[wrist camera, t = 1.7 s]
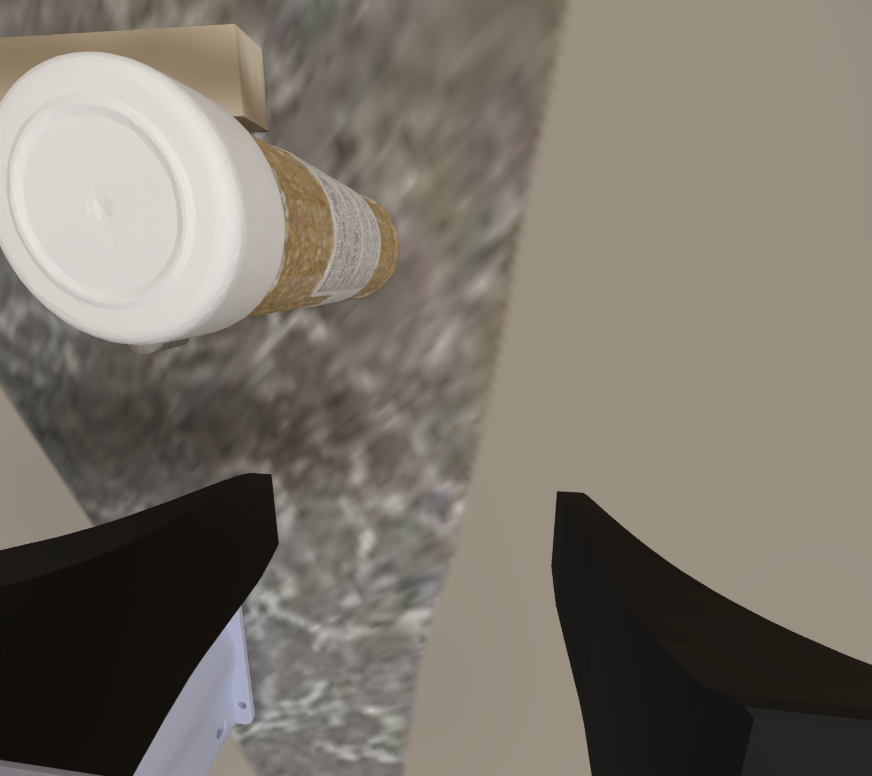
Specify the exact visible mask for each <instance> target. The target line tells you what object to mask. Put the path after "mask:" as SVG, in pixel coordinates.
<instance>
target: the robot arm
mask: <svg viewBox="0 0 872 776" xmlns="http://www.w3.org/2000/svg"><path fill="white" fill-rule="evenodd" d="M278 544H279V543H278V533H277V523H276V514H275V504H274V494H273V485H272V475H271V474H257V473H247V474H243V475H239V476H236V477H233V478H230V479H227V480H224V481H221V482H218V483H216V484H213V485H210V486H208V487H205V488H203V489H200V490H197V491H195V492H192V493H190V494H187V495H184V496H182V497H179V498H177V499H174V500H171V501H169V502H166V503H163V504H160V505H158V506H155V507H152V508H149V509H146V510H144V511H141V512H138V513H135V514H132V515H130V516H127V517H124V518H121V519H118V520H115V521H112V522H109V523H105V524H102V525H99V526H96V527H92V528H89V529H85V530H82V531H78V532H74V533H71V534H68V535H64V536H60V537H56V538H52V539H47V540H43V541H39V542H34V543H30V544H25V545H21V546H17V547H13V548H8V549H4V550H0V776H206V774H207V772H208V771H209V769H210V767H211V765H212V764H213V762H214V760H215V758H216V756H217V755H218V753H219V751H220V750H221V748H222V746H223V744H224V742H225V741H226V739H227V737H228V735H229V734H230V732H231V730H232V728H233V727H234V725H235V723H238V724H249V723H251V722H252V720H253V718H254V716H255V712H254V704H253V696H252V687H251V679H250V671H249V663H248V654H247V646H246V638H245V630H244V622H243V613H242V604H243V602H244V601H245V600H246V598H247V597H248V595H249V594H250V593H251V591H252V590H253V588H254V587H255V586H256V584H257V583H258V581H259V580H260V578H261V577H262V575H263V573H264V571H265V569H266V568H267V566H268V564H269V562H270V560H271V558H272V556H273V554H274V552H275V550H276V548H277V546H278ZM551 567H552V575H553V585H554V593H555V601H556V607H557V611H558V616H559V620H560V624H561V628H562V632H563V637H564V640H565V645H566V649H567V653H568V657H569V661H570V665H571V669H572V673H573V677H574V681H575V685H576V689H577V693H578V697H579V701H580V707H581V711H582V716H583V721H584V727H585V733H586V740H587V746H588V753H589V760H590V767H591V773H592V776H872V665H871V664H868V663H865V662H863V661H860V660H857V659H855V658H852V657H850V656H847V655H845V654H842V653H840V652H838V651H836V650H833V649H831V648H829V647H826V646H824V645H822V644H820V643H817V642H815V641H813V640H810V639H808V638H806V637H803V636H801V635H799V634H797V633H795V632H792V631H790V630H788V629H786V628H784V627H782V626H780V625H778V624H775V623H773V622H771V621H769V620H767V619H765V618H763V617H761V616H760V615H758V614H756V613H754V612H752V611H750V610H748V609H746V608H744V607H742V606H740V605H739V604H737V603H735V602H733V601H731V600H729V599H727V598H726V597H724V596H722V595H720V594H718V593H717V592H715V591H713V590H712V589H710V588H708V587H707V586H705V585H703V584H702V583H700V582H699V581H697V580H695V579H693V578H692V577H691V576H689V575H687V574H686V573H684V572H683V571H681V570H680V569H678V568H677V567H675V566H674V565H672V564H671V563H669V562H668V561H666V560H665V559H664V558H662V557H661V556H660V555H658V554H657V553H655V552H654V551H653V550H651V549H650V548H649V547H648V546H646V545H645V544H644V543H642V542H641V541H640V540H639V539H637V538H636V537H635V536H634V535H632V534H631V533H630V532H629V531H627V530H626V529H625V528H624V527H623V526H622V525H620V524H619V523H618V522H617V521H616V520H615V519H613V518H612V517H611V516H610V515H608V513H606V512H605V511H604V510H603V509H602V508H601V507H600V506H599V505H597V504H596V503H595V502H594V501H593V500H592V499H591V498H589V497H588V496H587V495H586V494H584V493H577V492H560V491H557V500H556V513H555V525H554V539H553V552H552V565H551Z"/></svg>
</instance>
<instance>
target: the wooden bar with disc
mask: <svg viewBox="0 0 872 776" xmlns="http://www.w3.org/2000/svg"><path fill="white" fill-rule="evenodd" d="M87 51H89V52H105V53H111V54H116V55H120V56H124V57H128V58H131V59H134V60H136V61H139V62H141V63H144V64H146V65H148V66H150V67H152V68H154V69H156V70H158V71H160V72H162V73H163V74H165V75H167V76H169V77H171V78H173V79H175V80H177V81H178V82H180V83H182V84H184V85H186V86H188V87H189V88H191V89H193V90H195V91H197V92H198V93H200V94H202V95H203V96H205V97H207V98H208V99H210V100H212V101H213V102H215V103H216V104H218V105H219V106H221V107H222V108H224V109H225V110H226V111H227V112H228V113H230V114H231V115H232V116H233V117H234V118H235V119H236V120H238V122H239V123H240V124H241V125H242V126H243V127H244V128H245V129H246V130H247V131H248V132H259V131H268V120H267V108H266V95H265V82H264V69H263V57H262V49H261V48H260V47H259V46H258V45H257V44H255V43H254V42H253V41H252V40H251V39H250V38H249V37H248V36H247V35H246V34H245V33H244V32H243V31H242V30H241V29H240V28H239V27H237V26H236V25H235V24H229V25H212V26H195V27H178V28H160V29H143V30H126V31H109V32H92V33H75V34H58V35H41V36H24V37H7V38H0V102H1V100H2V99H3V98H4V96H5V95H6V93H7V92H8V90H9V89H10V88H11V87H12V86H13V84H14V83H15V82H16V81H17V80H18V79H19V78H20V77H21V76H23V75H24V74H25V73H26V72H28V71H29V70H30V69H32V68H33V67H35V66H37V65H38V64H40V63H42V62H44V61H46V60H49V59H51V58H53V57H56V56H60V55H65V54H69V53H74V52H87Z"/></svg>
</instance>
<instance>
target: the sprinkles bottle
mask: <svg viewBox="0 0 872 776" xmlns="http://www.w3.org/2000/svg"><path fill="white" fill-rule="evenodd" d="M0 246H1V249H2V251H3V253H4V255H5V257H6V258H7V260H8V262H9V263H10V265H11V267H12V268H13V270H14V271H15V273H16V274H17V275H18V277H19V278H20V280H21V281H22V282H23V283H24V285H25V286H26V287H27V288H28V289H29V291H30V292H31V293H32V294H33V295H34V296H35V297H36V298H37V299H38V300H39V301H40V302H41V303H42V304H43V305H44V306H45V307H46V308H48V309H49V310H50V311H51V312H53V313H54V314H55V315H57V316H58V317H59V318H60V319H62V320H63V321H65V322H66V323H68V324H70V325H71V326H73V327H75V328H77V329H79V330H81V331H83V332H85V333H88V334H90V335H92V336H95V337H98V338H101V339H104V340H107V341H111V342H115V343H122V344H132V345H149V344H159V343H165V342H171V341H176V340H181V339H187V338H191V337H196V336H200V335H204V334H208V333H213V332H217V331H219V330H222V329H225V328H227V327H229V326H231V325H233V324H234V323H236V322H238V321H239V320H241V319H243V318H245V317H249V316H257V315H262V314H266V313H274V312H277V311H287V310H291V309H295V308H309V307H315V306H320V305H325V304H329V303H334V302H339V301H342V300H345V299H357V298H363V297H366V296H368V295H370V294H372V293H374V292H376V291H377V290H378V289H380V288H381V287H382V286H383V285H384V284H385V283H386V282H387V281H388V280H389V278H390V276H391V275H392V274H393V272H394V271H395V267H396V263H397V260H398V255H399V240H398V234H397V230H396V228H395V226H394V224H393V221H392V219H391V218H390V216H389V215H388V213H387V212H386V211H385V209H384V208H383V207H382V206H381V205H379V204H378V203H377V202H376V201H374V200H373V199H371V198H370V197H367V196H365V195H362V194H360V193H356V192H355V191H354V190H352V189H351V188H349V187H347V186H346V185H344V184H342V183H340V182H339V181H337V180H335V179H334V178H332V177H330V176H329V175H327V174H325V173H324V172H322V171H320V170H319V169H317V168H315V167H314V166H312V165H310V164H308V163H306V162H305V161H303V160H301V159H300V158H298V157H297V156H295V155H293V154H291V153H290V152H288V151H285V150H283V149H280V148H278V147H275V146H272V145H269V144H267V143H265V142H263V141H262V140H260V139H258V138H256V137H254V136H253V135H251V134H250V133H249V132H248V131H247V130H246V129H245V128H244V127H243V126H242V125H241V124H240V123H239V122H238V120H236V119H235V118H234V117H233V116H232V115H231V114H230V113H228V112H227V111H226V110H225V109H224V108H222V107H221V106H219V105H218V104H216V103H215V102H213V101H212V100H210V99H208V98H207V97H205V96H203V95H202V94H200V93H198V92H197V91H195V90H193V89H191V88H189V87H188V86H186V85H184V84H182V83H180V82H178V81H177V80H175V79H173V78H171V77H169V76H167V75H165V74H163V73H162V72H160V71H158V70H156V69H154V68H152V67H150V66H148V65H146V64H144V63H141V62H139V61H136V60H134V59H131V58H128V57H124V56H120V55H116V54H111V53H105V52H89V51H87V52H74V53H69V54H65V55H60V56H56V57H53V58H51V59H49V60H46V61H44V62H42V63H40V64H38V65H37V66H35V67H33V68H32V69H30V70H29V71H28V72H26V73H25V74H24V75H23V76H21V77H20V78H19V79H18V80H17V81H16V82H15V83H14V84H13V86H12V87H11V88H10V89H9V90H8V92H7V93H6V95H5V96H4V98H3V99H2V100H1V102H0Z"/></svg>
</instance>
